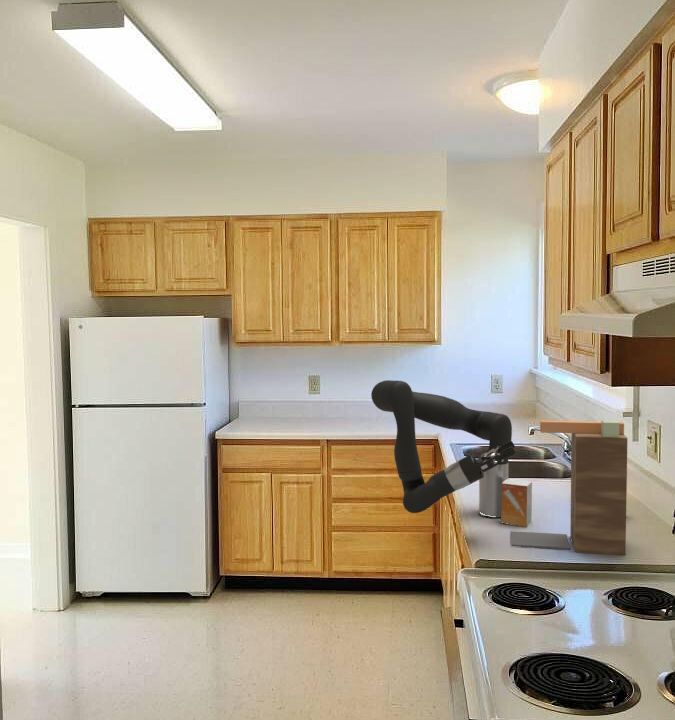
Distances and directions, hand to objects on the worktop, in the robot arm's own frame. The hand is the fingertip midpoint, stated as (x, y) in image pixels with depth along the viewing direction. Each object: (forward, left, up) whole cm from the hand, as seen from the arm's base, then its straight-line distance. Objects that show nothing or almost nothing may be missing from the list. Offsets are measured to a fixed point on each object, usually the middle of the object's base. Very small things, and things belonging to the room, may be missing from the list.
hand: (513, 446), depth 204 cm
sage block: (+5, +25, +5) cm, 26 cm away
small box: (-17, +1, -28) cm, 33 cm away
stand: (+1, +23, -27) cm, 36 cm away
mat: (0, +7, -27) cm, 28 cm away
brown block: (0, +18, +5) cm, 19 cm away
